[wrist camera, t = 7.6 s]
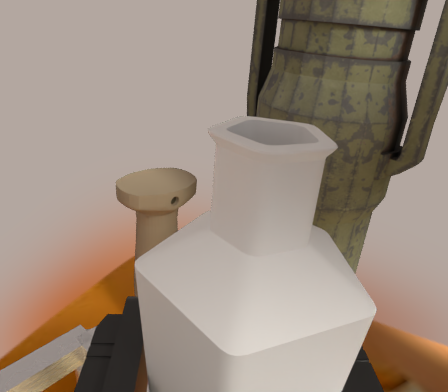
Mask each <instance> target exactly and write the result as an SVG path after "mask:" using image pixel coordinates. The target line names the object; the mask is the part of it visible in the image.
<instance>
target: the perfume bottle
mask: <svg viewBox="0 0 448 392" xmlns="http://www.w3.org/2000/svg"><path fill="white" fill-rule="evenodd" d="M208 133H209V134H210V136H211V137H212V139H213V140H214V141H215V143H216V149H215V163H214V177H213V191H212V205H211V211H207V212H205V213H203V214H202V215H200V216H199V217H197V218H196V219H195V220H193V221H192V222H190V223H189V224H187V225H186V226H184V227H183V228H181V229H180V230H178V231H177V232H175V233H174V234H173V235H171V236H170V237H168V238H167V239H165V240H164V241H162V242H161V243H159V244H158V245H156V246H155V247H154V248H152V249H151V250H149V251H148V252H146V253H145V254H143V255H142V256H140V257H139V258H138V259H137V260H136V261H135V274H136V282H137V291H138V299H139V308H140V317H141V325H142V334H143V342H144V351H145V359H146V368H147V377H148V385H149V392H342V390H343V387H344V385H345V383H346V380H347V378H348V376H349V373H350V371H351V369H352V367H353V364H354V362H355V360H356V357H357V355H358V353H359V350H360V348H361V346H362V344H363V341H364V339H365V337H366V334H367V332H368V330H369V328H370V325H371V323H372V321H373V318H374V316H375V314H376V310H377V308H376V306H375V304H374V302H373V300H372V299H371V297H370V296H369V294H368V293H367V291H366V290H365V288H364V287H363V285H362V284H361V282H360V281H359V279H358V278H357V276H356V275H355V273H354V272H353V270H352V269H351V267H350V266H349V264H348V263H347V261H346V259H345V258H344V256H343V255H342V253H341V252H340V250H339V249H338V247H337V246H336V244H335V243H334V241H333V240H332V238H331V237H330V235H329V234H328V233H327V232H326V231H325V230H323V229H321V228H318V227H316V226H314V225H312V224H313V219H314V214H315V209H316V204H317V199H318V194H319V189H320V184H321V179H322V174H323V170H324V165H325V160H326V157H327V156H329V155H330V154H331V153H333V152H334V151H335V150H336V149H337V148H338V146H337V144H336V143H335V142H334V141H333V140H332V139H330V138H329V137H328V136H327V135H326V134H325V133H323V132H322V131H321V130H320V129H319V128H317V127H316V126H314V125H310V124H306V123H299V122H292V121H284V120H276V119H268V118H260V117H252V116H241V117H236V118H233V119H231V120H228V121H225V122H222V123H220V124H217V125H214V126H212V127H210V128H209V129H208Z"/></svg>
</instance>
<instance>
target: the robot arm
mask: <svg viewBox="0 0 448 392" xmlns="http://www.w3.org/2000/svg"><path fill="white" fill-rule="evenodd" d="M147 385H148V377H147V368H146V359H145V351H144V342H143V334H142V325H141V317H140V308H139V299H138V297H130V296H128V297H127V299H126V303H125V306H124V310H123V314H107V316H106V317H105V318H104V319H103V320H102V321H101V322H100V323H99V324H98V326H97V327H96V329H95V331H94V334H93V337H92V340H91V345H90V346H89V349H88V352H87V355H86V359H85V361H84V364H83V367H82V370H81V373H80V376H79V379H78V382H77V385H76V387H75V390H74V392H147ZM342 392H384V391H383V388H382V386H381V384H380V382H379V380H378V378H377V376H376V374H375V372H374V370H373V367H372V365H371V363H369V359H368V357H367V355H366V353H365V351H364V350H363V346H361V348H360V350H359V353H358V355H357V357H356V360H355V362H354V364H353V367H352V369H351V371H350V373H349V376H348V378H347V380H346V383H345V385H344V387H343V390H342Z"/></svg>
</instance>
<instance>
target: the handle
mask: <svg viewBox="0 0 448 392" xmlns="http://www.w3.org/2000/svg"><path fill="white" fill-rule="evenodd" d="M196 183H197V180H196V178H195V176H194V175H192V174H191V173H189V172H187V171H184V170H182V169H177V168H156V169H147V170H143V171H138V172H134V173H131V174H128V175H126V176H124V177H122V178H121V179H118V180H117V181H116V194H117V199H118V200H119V202H121V203H122V204H123V205H125V206H126V207H128V208H130V209H132V210H135V211H136V217H137V223H136V249H135V261H136V260H137V259H138V258H139V257H140V256H142V255H143V254H145V253H146V252H148V251H149V250H151V249H152V248H154V247H155V246H156V245H158V244H159V243H161V242H162V241H164V240H165V239H167V238H168V237H170V236H171V235H173V234H174V233H175V232H177V231H178V230H177V215H178V208H179V207H181V206H182V205H184V204H185V203H186V202H187V201H189V200H190V199H191V198H192V197H193V196H194V194H195V193H196ZM134 291H135V297H138V291H137V282H136V274H135V267H134Z"/></svg>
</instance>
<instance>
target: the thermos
mask: <svg viewBox="0 0 448 392" xmlns="http://www.w3.org/2000/svg"><path fill="white" fill-rule="evenodd" d="M427 1H428V0H281V2H280V0H257V6H256V15H255V25H254V34H253V44H252V54H251V63H250V73H249V83H248V93H247V116H252V117H260V118H268V119H276V120H284V121H292V122H299V123H306V124H310V125H314V126H316V127H317V128H319V129H320V130H321V131H322V132H323V133H325V134H326V135H327V136H328V137H329V138H330V139H332V140H333V141H334V142H335V143H336V144H337V146H338V148H337V149H336V150H335V151H334V152H333V153H331V154H330V155H329V156H327V157H326V160H325V165H324V170H323V174H322V179H321V184H320V189H319V194H318V199H317V204H316V209H315V214H314V219H313V224H312V225H314V226H316V227H318V228H321V229H323V230H325V231H326V232H327V233H328V234H329V235H330V237H331V238H332V240H333V241H334V243H335V244H336V246H337V247H338V249H339V250H340V252H341V253H342V255H343V256H344V258H345V259H346V261H347V263H348V264H349V266H350V267H351V269H352V270H353V272H354V273H356V269H357V266H358V262H359V258H360V255H361V251H362V248H363V244H364V240H365V237H366V233H367V230H368V226H369V222H370V219H371V215H372V211H373V210H374V209H375V208H376V207H377V206H378V205H379V203H380V202H381V201H382V200H383V199H384V197H385V195H386V192H387V188H388V184H389V181H390V178H391V176H393V175H396V174H400V173H402V172H404V171H406V170H408V169H410V168H412V167H414V166H416V165H417V164H419V163H420V162H421V161H422V160H423V159H424V156H425V152H426V149H427V146H428V142H429V139H430V135H431V132H432V128H433V125H434V122H435V119H436V116H437V114H438V111H439V108H440V105H441V103H442V100H443V97H444V94H445V91H446V89H447V86H448V0H446V1H445V5H444V8H443V11H442V15H441V18H440V21H439V25H438V28H437V32H436V35H435V38H434V42H433V46H432V49H431V52H430V56H429V59H428V63H427V66H426V69H425V73H424V76H423V79H422V83H421V86H420V90H419V93H418V97H417V100H416V103H415V107H414V110H413V114H412V117H411V120H410V124H409V127H408V131H407V134H406V138H405V141H404V144H403V147H402V146H400V142H401V139H402V136H403V132H404V129H405V125H406V122H407V118H408V113H407V95H406V79H407V75H408V71H409V68H410V64H411V61H410V60H408V56H409V52H410V49H411V45H412V41H413V38H414V34H415V30H420V27H421V23H422V20H423V16H424V12H425V9H426V5H427ZM279 3H280V9H279ZM278 11H279V17H278ZM278 18H280V19H282V21H281V28H280V36H279V44H278V46H277V47H274V43H275V35H276V27H277V19H278ZM273 51H274V56H273ZM272 59H273V63H272Z"/></svg>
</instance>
